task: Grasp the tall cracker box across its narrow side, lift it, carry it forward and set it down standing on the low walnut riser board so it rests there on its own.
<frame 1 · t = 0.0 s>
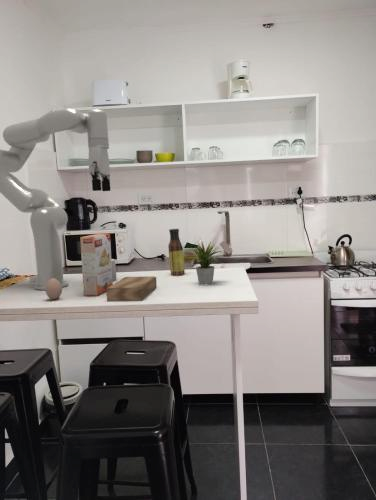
hand: (101, 190, 156), 37 cm above the table, tool pointing down, fingers open, 9 cm apart
house plant: (206, 284, 155), on the table
riser: (133, 293, 144), on the table
grey mug: (105, 280, 173), on the table
sauce bottle: (177, 275, 178), on the table
egg: (54, 300, 142), on the table
cracker box: (99, 292, 150), on the table
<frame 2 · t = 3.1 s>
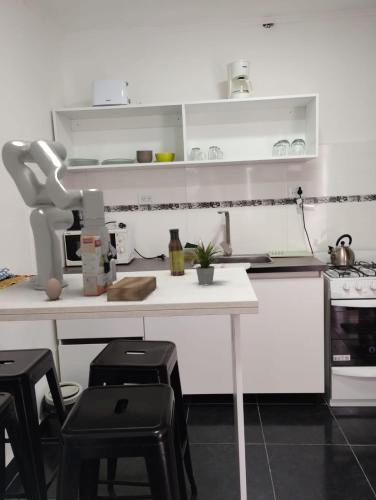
hand: (98, 272, 150), 7 cm above the table, tool pointing down, fingers closed on cracker box, 6 cm apart
cracker box: (99, 292, 150), on the table, touching gripper
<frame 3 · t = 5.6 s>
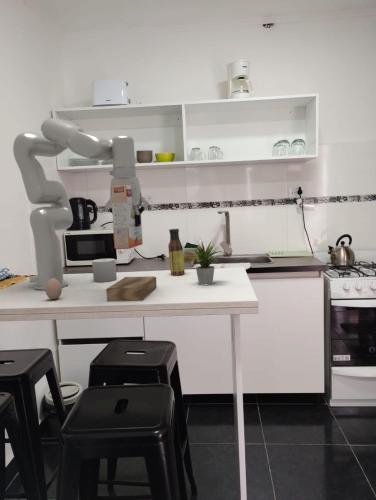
hand: (128, 226, 142), 24 cm above the table, tool pointing down, fingers closed on cracker box, 6 cm apart
cracker box: (129, 247, 142), point 16 cm above the table, touching gripper
when the fingers open (12 cm above the table, at t = 8.2 s): cracker box stays where it is, resting on riser.
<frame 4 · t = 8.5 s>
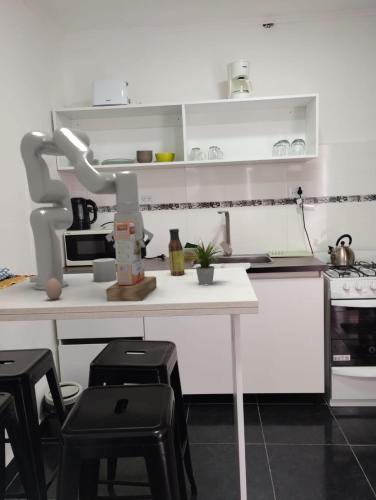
hand: (131, 258, 143), 13 cm above the table, tool pointing down, fingers open, 8 cm apart
cracker box: (132, 282, 144), point 4 cm above the table, touching riser
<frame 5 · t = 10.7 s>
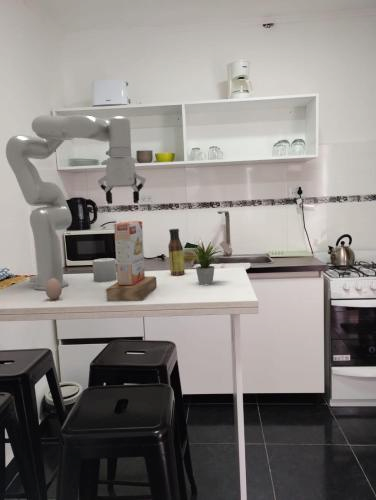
hand: (122, 203, 146), 32 cm above the table, tool pointing down, fingers open, 9 cm apart
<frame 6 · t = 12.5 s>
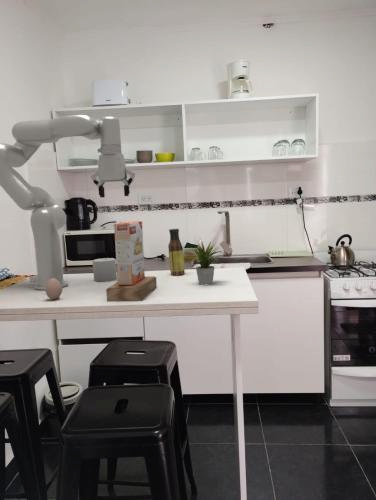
hand: (114, 196, 157), 34 cm above the table, tool pointing down, fingers open, 9 cm apart
at the end: cracker box inside the target area on the riser (0.1 cm from its centre), point 4.1 cm above the riser's base; cracker box tilted 0°; the gripper is holding nothing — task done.
